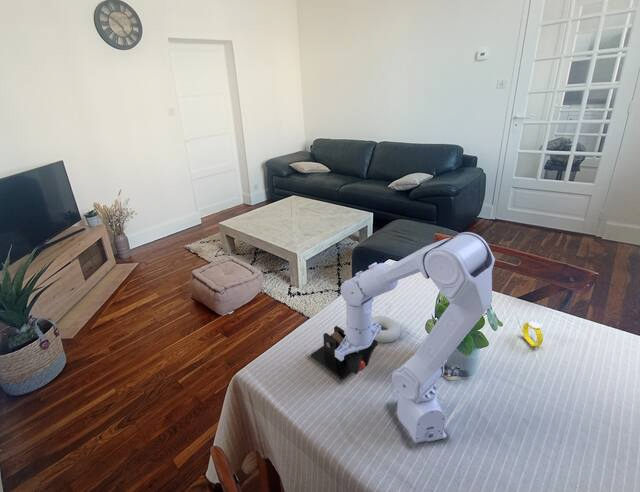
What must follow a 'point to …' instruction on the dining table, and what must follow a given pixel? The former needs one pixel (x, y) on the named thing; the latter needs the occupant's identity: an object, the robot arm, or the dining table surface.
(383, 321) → the donut
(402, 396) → the robot arm
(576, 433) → the dining table surface
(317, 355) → the bracket
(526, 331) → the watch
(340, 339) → the lever
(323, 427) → the dining table surface
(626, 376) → the dining table surface
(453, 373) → the blueberries
